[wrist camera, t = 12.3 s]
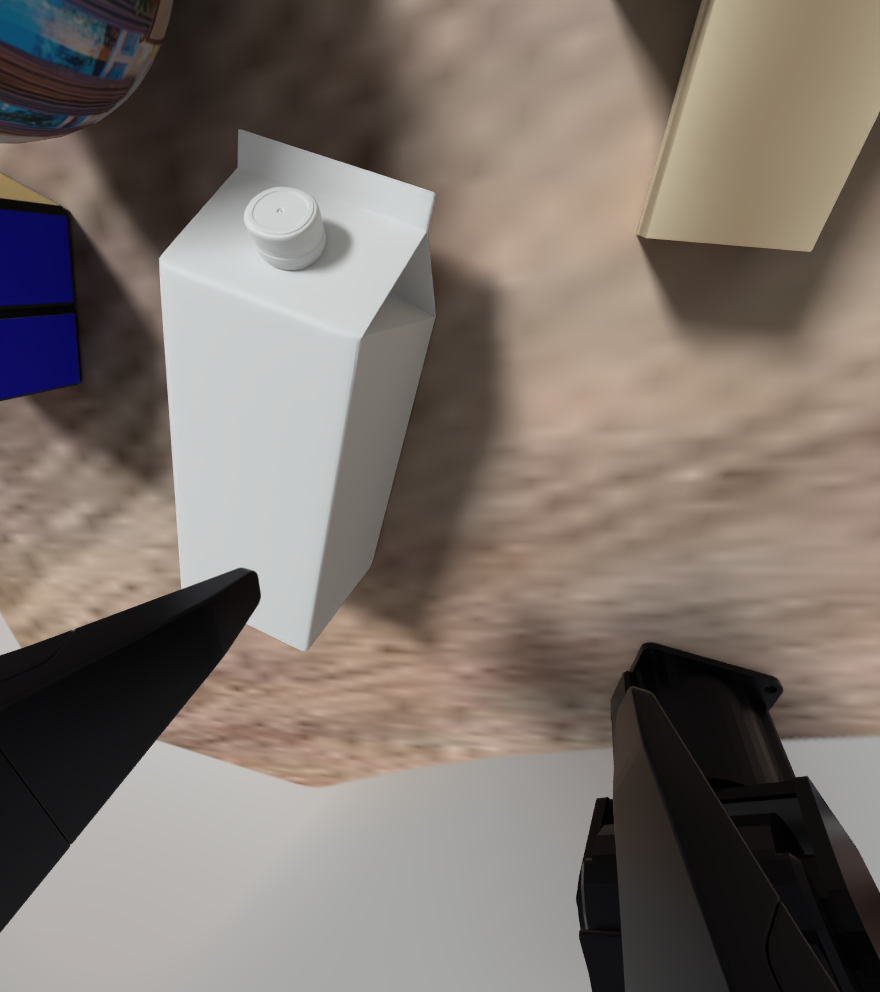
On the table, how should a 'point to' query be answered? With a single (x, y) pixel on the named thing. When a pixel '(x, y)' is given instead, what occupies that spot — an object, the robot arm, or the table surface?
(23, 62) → the ornament
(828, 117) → the beige rectangular block
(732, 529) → the table surface
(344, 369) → the milk carton
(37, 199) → the puzzle cube
